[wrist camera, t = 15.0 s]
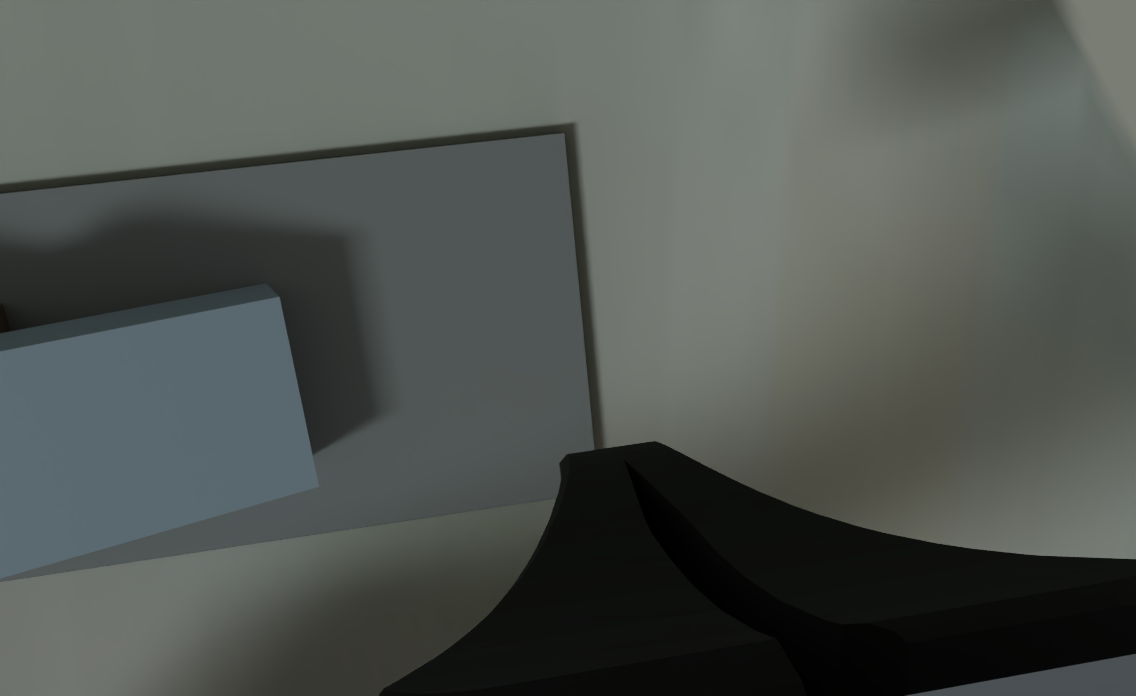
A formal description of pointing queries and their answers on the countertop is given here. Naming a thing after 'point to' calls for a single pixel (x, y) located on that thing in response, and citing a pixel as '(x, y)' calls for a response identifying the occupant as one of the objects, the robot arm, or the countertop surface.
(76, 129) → the countertop surface
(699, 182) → the countertop surface
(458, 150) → the runner mat
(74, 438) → the tile
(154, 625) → the countertop surface
